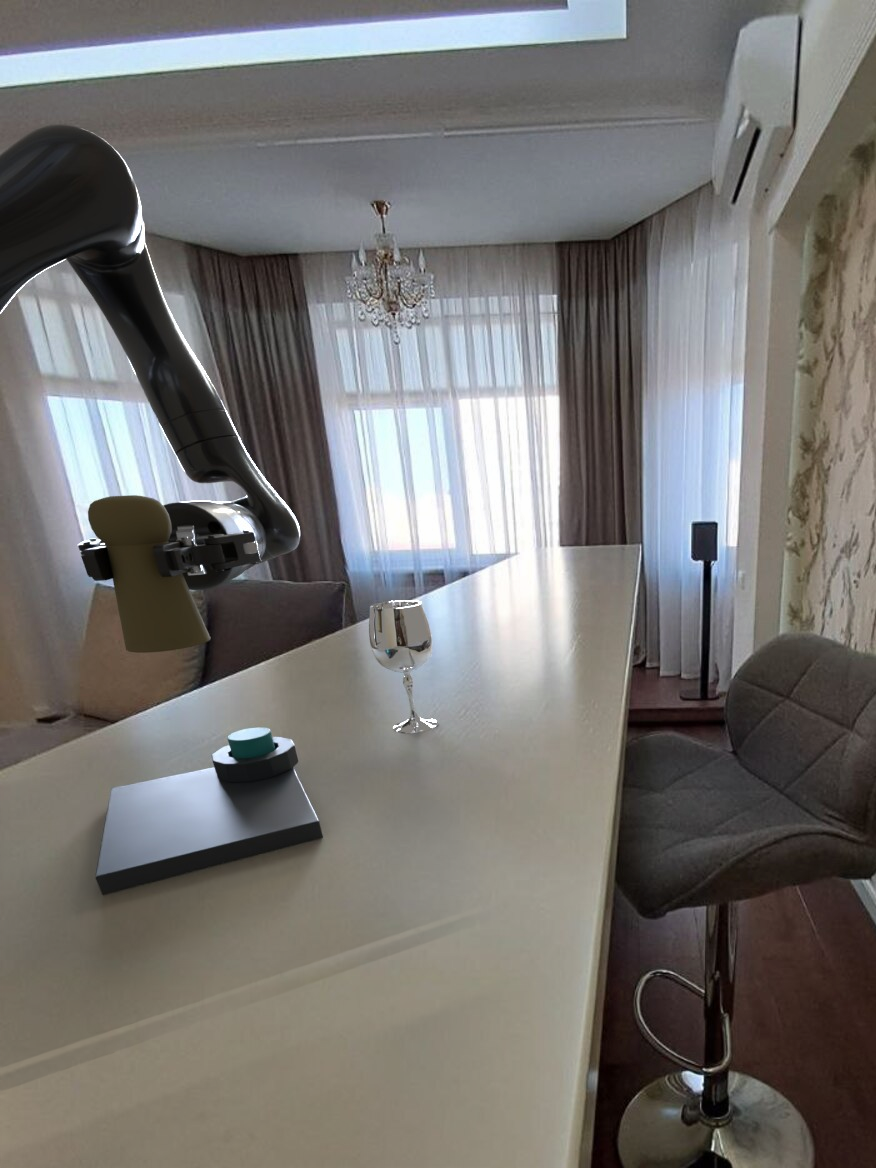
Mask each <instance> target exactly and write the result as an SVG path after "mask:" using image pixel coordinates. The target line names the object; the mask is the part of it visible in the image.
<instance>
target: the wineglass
mask: <svg viewBox="0 0 876 1168" xmlns="http://www.w3.org/2000/svg"><path fill="white" fill-rule="evenodd" d="M368 615H369V617H368V618H369V619H368V635H369V638H368V639H369V645H370V648H371V652H372V654H373V657H374V659H375V660H376V662H377V663H379V665H380V666H381V667H383V668H385V669H387V670H388V671H391V672H392V671H393V672H396V673H401V674H403V678H402V684H403V687H404V689H405V691H406V694H407V697H408V703H409V708H410V709H409V710H410V713H409V717H408V719H405V720H402V721H399V722H397V723H396V724H395V725H393V726H392V731H394V732H396V733H399V734H417V733H423V732H426V731H430V730H432V729H434V728H437V727H438V725H439V723H438V721H437V719H433V718H426V717H421V716H419V714H418V713H417V710H416V706H415V700H414V686H415V681H414V678H413V676H412V675H411V672H412V673H413V672H414V671H416V670H419V669H421V668H422V667H423V666H425V665H426V664H428V662H429V661H430V659H431V657H432V654H433V649H434V641H433V640H434V639H433V633H432V629H431V626H430V623H429V620H428V616H427V614H426V612H425V608H424V606H423V604H422V601H419V600H391V601H385V602H379V603H373V604H372V605H370V606H369V614H368Z"/></svg>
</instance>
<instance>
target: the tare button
mask: <svg viewBox="0 0 876 1168" xmlns="http://www.w3.org/2000/svg"><path fill="white" fill-rule="evenodd" d="M272 737H273V735H272V731H271V729H270V728H268V727H263V726H259V727H258V726H255V727H249V728H248V727H247V728H243V729H239V730H236V731H234V732H232V733H230V734H229V735H227V742H228V745H229V746H230V749H231V753H232V756H233V758H236V759H240V758H252V757H257V756H261V755H265V754H268V753H270V752H273V751H274V750H275V746H274V742H273V738H272Z"/></svg>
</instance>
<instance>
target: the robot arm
mask: <svg viewBox="0 0 876 1168" xmlns="http://www.w3.org/2000/svg"><path fill="white" fill-rule="evenodd" d="M143 216H144V215H143V211H142V202H141V199H140V195H139V191H138V188H137V185H136V182H135V179H134V177H133V175H132V173H131V170H130V168H129V167H128V165H127V163H126V161H125V159H124V158H123V157H122V156H121V154H120V153H119V152H118V151H117V150H116V149H115V148H114V147H113V146H112V145H111V144H110V143H108V141H106V140H105V139H104V138H103V137H101V136H99V135H97V134H96V133H94V132H92V131H90V130H87V129H86V128H82V127H80V126H76V125H72V124H66V123H64V124H63V123H62V124H61V123H58V124H57V123H56V124H55V123H54V124H52V123H51V124H48V125H43V126H40V127H37V128H35V129H32V130H31V131H30V132H28V133H26V134H25V135H23V136H22V137H21V138H20V139H18V140H17V141H15V142H14V143H13V144H12V145H10V146H9V147H7V149H5V150H4V151H2V153H0V315H1V314H2V313H3V311H4V310H5V309H6V307H7V306H8V305H9V303H10V302H11V301H12V299H13V298H14V297H15V296H16V294H17V293H18V292H19V291H20V290H21V289H22V288H24V286H25V285H26V284H27V283H28V282H30V281H31V280H33V278H35V277H36V276H38V275H39V274H41V273H42V272H44V271H46V270H48V269H49V268H51V267H53V266H56V265H57V264H60V263H62V262H64V261H65V260H66V261H67V262H68V264H69V265H70V266H71V267H70V268H71V269H73V271H74V272H75V274H76V275H77V277H78V278H79V279H80V281H81V282H82V284H83V285H84V287H85V288H86V290H87V291H88V293H89V294H90V295H91V297H92V298H93V300H94V301H95V303H96V305H97V307H98V308H99V310H100V311H101V313H102V314H103V316H104V318H105V319H106V321H107V323H108V324H109V326H110V328H111V329H112V331H113V333H114V334H115V336H116V338H117V340H118V342H119V344H120V345H121V348H122V350H123V351H124V353H125V355H126V357H127V360H128V362H129V363H130V366H131V368H132V370H133V372H134V374H135V376H136V379H137V380H138V383H139V385H140V388H141V389H142V392H143V394H144V395H145V398H146V400H147V402H148V404H149V406H150V408H151V411H152V412H153V414H154V416H155V418H156V420H157V422H158V424H159V426H160V428H161V430H162V432H163V434H164V436H165V438H166V440H167V441H168V443H169V445H170V447H171V449H172V452H173V453H174V455H175V456H176V459H177V461H178V463H179V465H180V467H181V468H182V470H183V471H184V473H185V475H186V476H187V477H188V478H189V479H190V480H191V481H192V482H195V483H197V484H214V483H215V484H217V483H226V482H231V483H234V484H236V485H238V486H239V487H240V488H241V489H242V490H243V492H244V494H245V495H246V496H243V497H239V498H237V499H235V500H232V501H223V500H222V501H220V500H219V501H212V500H205V499H204V500H200V499H199V500H189V501H178V502H170V503H166V504H162V505H163V506H164V507H165V509H166V510H167V512H168V514H169V517H170V520H171V530H172V532H171V534H170V537H169V539H168V542H169V543H165V544H160V545H156V546H154V547H153V553H154V556H155V559H156V563H157V566H158V569H159V572H160V574H161V576H162V577H172V576H176V575H179V574H183V576H184V579H185V581H186V583H187V585H188V588H189V590H190V591H207V590H211V589H214V588H217V587H218V586H221V585H224V584H225V583H227V582H230V581H232V580H234V579H235V578H239V576H241V575H243V574H244V573H245V571H247V570H250V569H251V568H253V567H254V566H256V565H259V564H262V563H265V562H267V561H270V560H273V559H276V558H278V557H282V556H285V555H287V554H291V553H292V552H294V551H295V550H297V548H298V547H299V544H300V541H301V529H300V525H299V522H298V520H297V518H296V516H295V514H294V513H293V512H292V510H291V508H290V507H289V506H288V504H287V503H286V502H285V501H284V500H283V499H282V497H280V495H279V494H278V493H277V491H276V490H275V489H274V488H273V486H271V484H270V483H269V482H268V481H267V479H266V478H265V476H264V475H263V474H262V472H261V471H260V469H259V468H258V467H257V466H256V463H255V462H254V461H253V460H252V458H251V456H250V454H249V453H248V452H247V450H246V447H245V446H244V444H243V442H242V440H241V437H240V436H239V434H238V432H237V430H236V427H235V426H234V423H233V421H232V419H231V417H230V415H229V413H228V411H227V409H226V407H225V405H224V402H223V401H222V399H221V397H220V394H219V393H218V390H217V389H216V388H215V386H214V384H213V382H212V381H211V379H210V376H209V375H208V374H207V372H206V370H205V369H204V367H203V366H202V365H201V362H200V361H199V359H198V357H197V356H196V355H195V353H194V351H193V350H192V349H191V347H190V344H189V343H188V342H187V340H186V338H185V336H184V335H183V333H182V332H181V330H180V328H179V326H178V324H177V323H176V320H175V319H174V316H173V314H172V312H171V310H170V308H169V306H168V304H167V302H166V299H165V297H164V295H163V292H162V289H161V286H160V284H159V280H158V278H157V275H156V272H155V269H154V266H153V263H152V259H151V257H150V254H149V251H148V247H147V244H146V236H145V235H146V233H145V230H146V229H145V222H144V217H143ZM77 547H78V551H79V553H80V557H81V560H82V562H83V566H84V569H85V572H86V574H87V576H88V577H89V578H92V579H93V581H94V582H100V581H108V580H109V581H110V580H113V575H112V570H111V566H110V562H109V557H108V551H107V546H106V545H105V544H104V543H103V542H102V541H101V540H100V539H97V537H92V538H91V537H90V538H88V540H87V539H86V540H84V541H81V542H80V543H78V544H77Z"/></svg>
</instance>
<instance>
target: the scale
mask: <svg viewBox="0 0 876 1168" xmlns="http://www.w3.org/2000/svg"><path fill="white" fill-rule="evenodd" d="M272 738H273V742H274V746H275V750H274V751H273V752H270V753H268V754H265V755H261V756H257V757H252V758H240V759H236V758H233V756H232V753H231V749H230V746H229V744H228V745H225V746H222V747H220V748H219V749H218V750H216V751H215V752H213V753H212V754H211V760H212V764H213V767H207V768H204V769H199V770H198V769H197V770H193V771H189V772H183V773H178V774H174V775H169V776H164V777H159V778H154V779H150V780H145V781H140V782H139V781H138V782H134V783H130V784H125V785H120V786H115V787H111V788H110V792H109V793H110V794H109V798H108V804H107V808H106V809H107V810H106V816H105V822H104V826H103V833H102V837H101V843H100V847H99V854H98V860H97V865H96V871H95V876H94V878H95V882H96V883H97V885H98V888H99V890H100V893H101V895H102V896H106V895H110V894H113V893H117V892H121V891H124V890H125V891H126V890H129V889H132V888H136V887H141V886H144V885H148V884H152V883H155V882H159V881H163V880H168V879H170V878H175V877H178V876H179V877H180V876H182V875H186V874H190V873H194V872H198V871H201V870H205V869H209V868H214V867H216V866H221V865H224V864H228V863H232V862H236V861H240V860H243V859H247V858H252V857H255V856H259V855H263V854H266V853H271V852H274V851H278V850H282V849H285V848H290V847H293V846H297V845H301V844H304V843H308V842H313V841H315V840H320V839H323V838H324V835H323V831H322V826H321V823H320V821H319V820H320V819H319V817H318V816H317V813H316V812H315V809H314V807H313V805H312V804H311V801H310V799H309V797H308V795H307V792H306V791H305V789H304V786H303V785H302V782H301V779H300V778H299V776H298V773H297V772H296V770H295V768H294V767H295V766H296V765H297V764H298V763H299V757H298V753H297V750H296V746H295V743H294V741H293V739H291V738H287V737H283V736H272Z"/></svg>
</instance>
